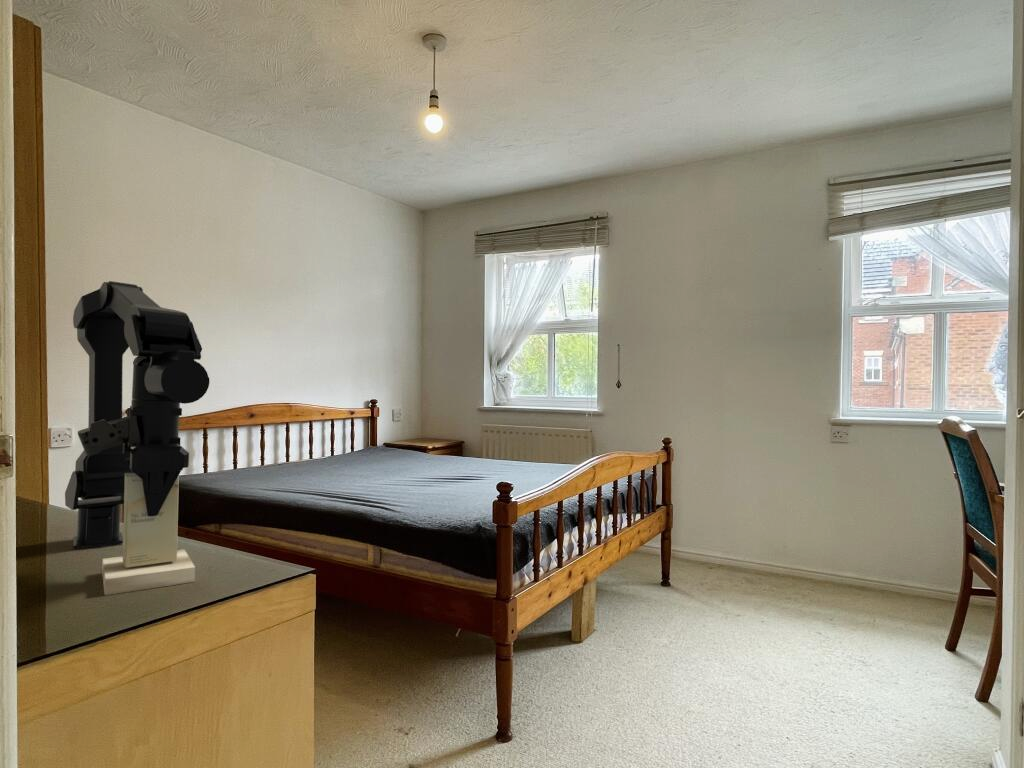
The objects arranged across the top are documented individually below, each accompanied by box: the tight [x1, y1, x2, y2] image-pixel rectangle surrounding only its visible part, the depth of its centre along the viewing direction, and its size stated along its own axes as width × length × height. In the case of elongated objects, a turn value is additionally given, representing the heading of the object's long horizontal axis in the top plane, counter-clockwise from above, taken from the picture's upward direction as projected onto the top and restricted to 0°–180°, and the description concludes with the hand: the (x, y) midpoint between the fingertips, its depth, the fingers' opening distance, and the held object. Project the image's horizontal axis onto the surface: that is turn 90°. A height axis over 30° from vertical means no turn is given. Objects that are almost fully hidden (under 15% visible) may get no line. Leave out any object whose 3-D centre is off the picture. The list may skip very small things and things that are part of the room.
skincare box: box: [122, 473, 180, 567], centre depth 79 cm, size 6×4×12 cm
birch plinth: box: [101, 548, 196, 596], centre depth 79 cm, size 10×10×2 cm
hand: (150, 512), depth 79 cm, fingers closed on skincare box, 4 cm apart
